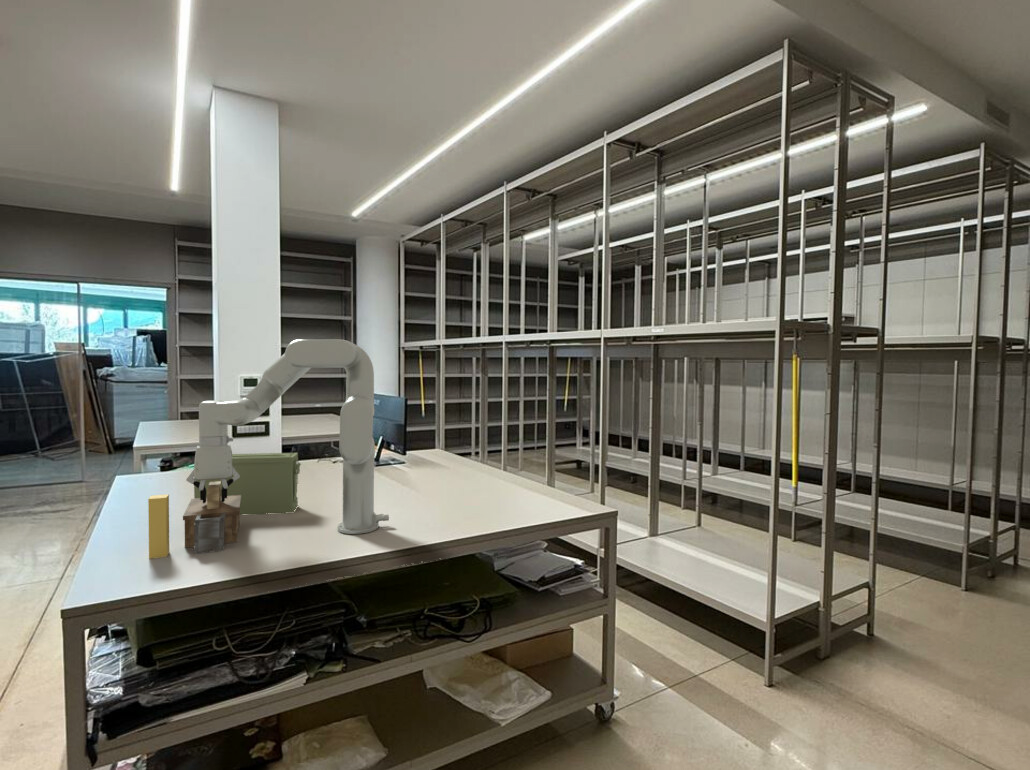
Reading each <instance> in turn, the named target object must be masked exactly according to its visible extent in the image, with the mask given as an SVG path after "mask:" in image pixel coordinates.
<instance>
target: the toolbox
mask: <svg viewBox="0 0 1030 770" xmlns="http://www.w3.org/2000/svg"><path fill="white" fill-rule="evenodd" d="M240 517H241V515H240V512H239V515H235V516H225V521H224V522H218V523H207V524H197V525H195V519H192V520H184V549H185V548H186V547H187V548H192V547H193V546H194V547H193V549H194V550H193V552H194V553H197V554H203V553H202V552H205V553H211V552H210V551H214V552H219V550H223V551H224V550H225V544H229V542H232V543H237V542H238V537H239V529H240V522H241V521H240V520H241V519H240ZM213 518H215V517H213ZM203 519H205V518H203ZM237 536H238V537H237ZM194 553H193V554H194Z"/></svg>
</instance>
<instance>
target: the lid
mask: <svg viewBox="0 0 1030 770" xmlns="http://www.w3.org/2000/svg"><path fill="white" fill-rule="evenodd" d="M240 505H241V495H233V496H227V498H225V501H224V502H222V496H221V481H218V482H210V483H209V486H208V488H207V498H206V503H203V500H200V498H195V499H194V498H191V499H190V501H189V503H188V505H187V507H186V509H185V511H184V513H183V515H182V521H185V520H192V519H195V525H197V524H207V523H218V522H224V521H225V516H235V515H239V512H240ZM213 517H215V518H213ZM203 518H205V519H203Z"/></svg>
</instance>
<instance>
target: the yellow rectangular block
mask: <svg viewBox="0 0 1030 770" xmlns="http://www.w3.org/2000/svg"><path fill="white" fill-rule="evenodd" d="M147 501H148V504H147V505H148V559H149V560H151V559H158V558H159V559H160V558H166V557H168V555H169V554H170V494H169V493H167V494H157V495H156V494H155V495H150V497H148V500H147Z"/></svg>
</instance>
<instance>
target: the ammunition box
mask: <svg viewBox="0 0 1030 770" xmlns="http://www.w3.org/2000/svg"><path fill="white" fill-rule="evenodd" d="M232 459H233V467H234V469H235V470H236V471H237V472H238V473H239V474H240V477H239V478H238V479H237V480H235V481H234V482H233V483H232V484H230V485H229V486H228V488H227V496H233V495H241V505H240V516H242V515H241V514H257V515H269V514H268V513H281V514H287V513H286V512H294V510H295V509H296V507H297V506H299V505H298V503H299V501H298V499H299V498H298V497H297V495H298V494H297V493H298V484H299V482H298V481H299V474H301V473H300V472H301V470H300V469H301V465H302V464H301V463H300V462H299V453H298V452H271V453H270V452H269V453H266V452H264V453H263V452H262V453H232ZM233 476H234V475H233V474H232V476H231V477H229V478H227V481H228V480H229V479H230V478H232V477H233ZM193 478H194V477H193ZM194 479H195V478H194ZM195 480H197V479H195ZM197 481H199V482H201V480H197ZM218 481H221V489H222V486H223V484H222V480H221V479H213V480H206V482H205V488H206V498H207V488H208V486H209V483H210V482H218ZM193 491H194V492H193V493H194V495H193V496H194V497H193V499H195V498H200V490H199V489H198V488H197V487H196V486H195V485H193ZM221 496H222V495H221ZM296 510H297V509H296ZM266 513H267V514H266ZM294 513H295V512H294Z"/></svg>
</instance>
